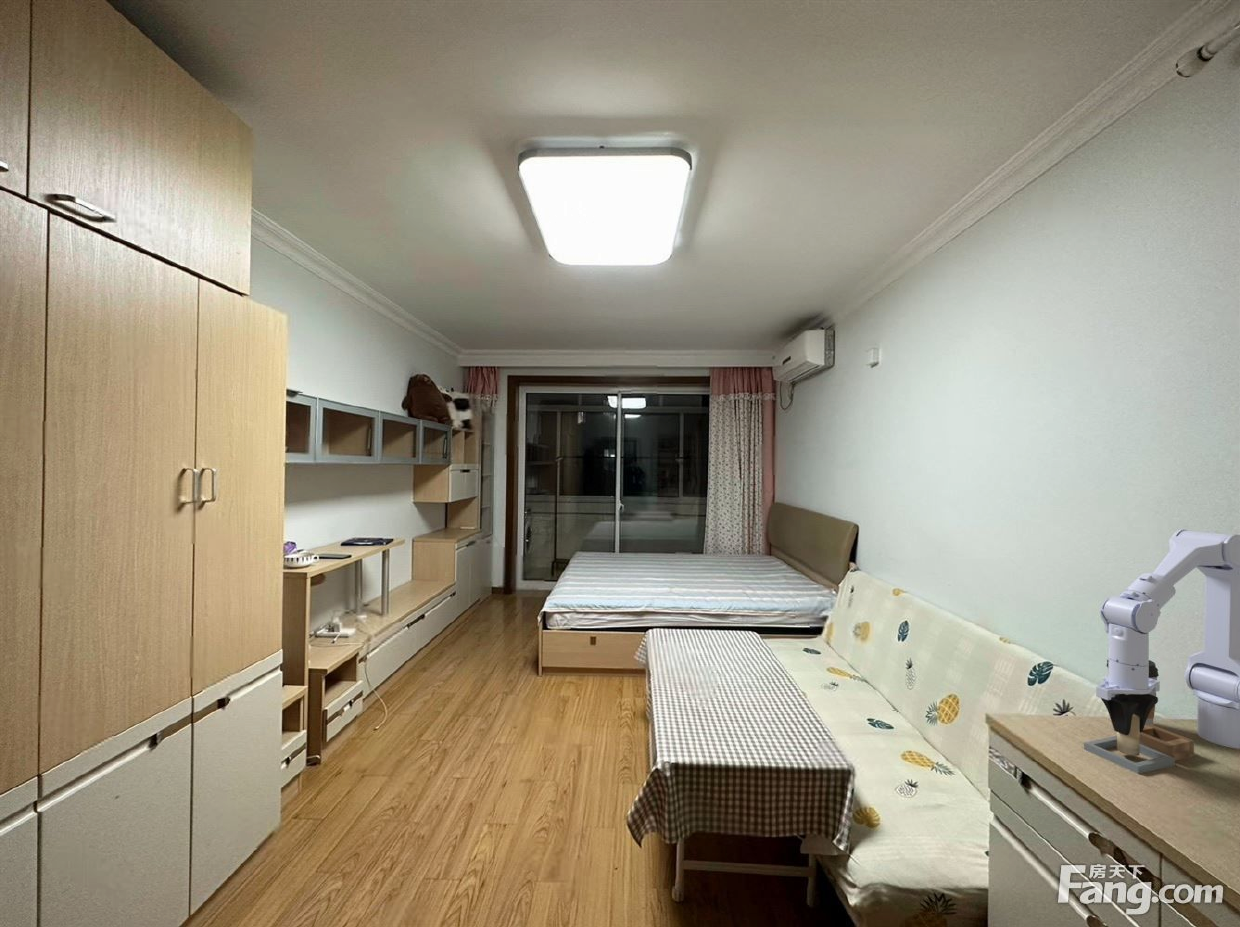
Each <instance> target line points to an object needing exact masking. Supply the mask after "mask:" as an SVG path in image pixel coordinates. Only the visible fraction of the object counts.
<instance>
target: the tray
mask: <svg viewBox="0 0 1240 927" xmlns="http://www.w3.org/2000/svg"><path fill="white" fill-rule="evenodd" d="M1115 747H1117V735H1115V736H1110V737H1105V738H1100V739H1099V738H1098V739H1094V740H1090V741H1084V742H1083V750H1084V751H1087V752H1089V753H1091V754H1093V755H1096V756H1098V757H1100V758H1102V759H1105V760H1106V761H1108V762H1111V763H1113V764H1114V765H1118V766H1120V767H1121V768H1124V769H1126V770H1128V771H1131V772H1133V773H1135V774H1137V775H1139V774H1143V773H1144V774H1145V773H1147V772H1149V773H1150V772H1152V771H1156V770H1161V769H1164V768H1169V767H1173V766H1175V764H1176V761H1175V758H1173V757H1171V756H1168V755H1166V754H1163V753H1161V752H1158V751H1156V750H1154V749H1151V748H1149V747H1146V746H1144V745H1141V744H1139V754H1141V755H1143V756H1146V757H1149V758H1150V759H1146V760H1142V761H1138V762H1135V761H1132V760H1129V759H1127V758H1125V757H1123V756H1120V755H1118V754H1116V753H1114V752H1112V751H1109V750H1108V749H1110V748H1115Z"/></svg>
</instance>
